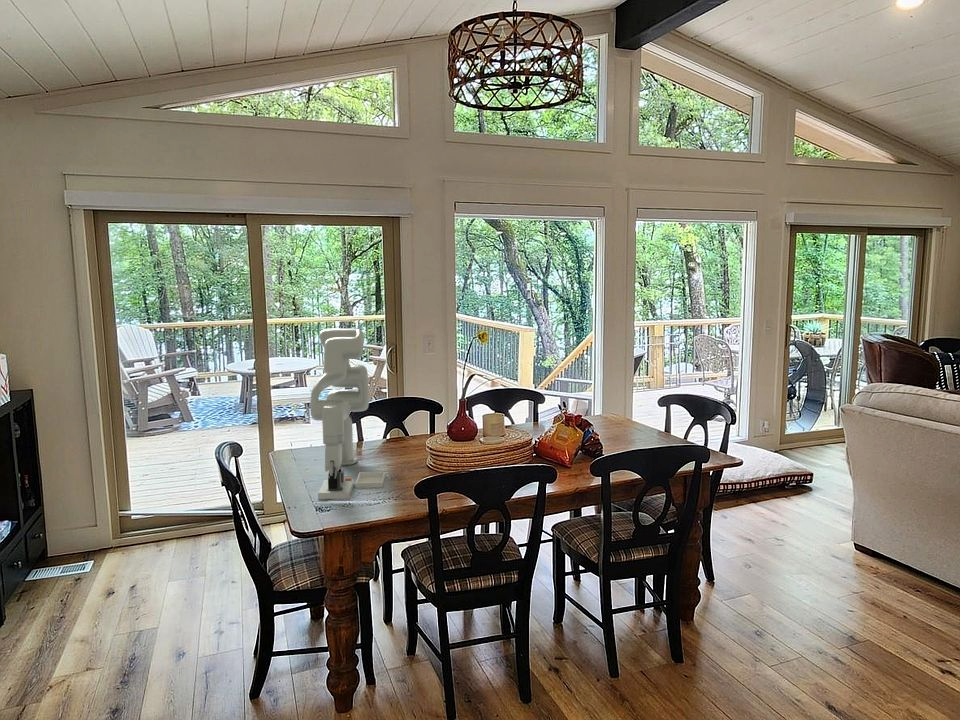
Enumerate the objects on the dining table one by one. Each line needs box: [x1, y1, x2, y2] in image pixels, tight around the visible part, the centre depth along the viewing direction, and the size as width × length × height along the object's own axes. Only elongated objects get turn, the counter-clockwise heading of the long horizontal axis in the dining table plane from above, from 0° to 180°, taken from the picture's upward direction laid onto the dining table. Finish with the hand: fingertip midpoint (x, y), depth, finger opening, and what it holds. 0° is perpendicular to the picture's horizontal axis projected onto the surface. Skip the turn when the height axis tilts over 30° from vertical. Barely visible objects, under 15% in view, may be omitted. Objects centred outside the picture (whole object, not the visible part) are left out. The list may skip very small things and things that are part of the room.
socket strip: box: [317, 469, 355, 501], centre depth 246 cm, size 15×11×7 cm
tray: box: [354, 471, 386, 489], centre depth 257 cm, size 13×10×2 cm
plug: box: [329, 472, 341, 491], centre depth 242 cm, size 3×4×9 cm
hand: (335, 484), depth 242 cm, fingers open, 9 cm apart
